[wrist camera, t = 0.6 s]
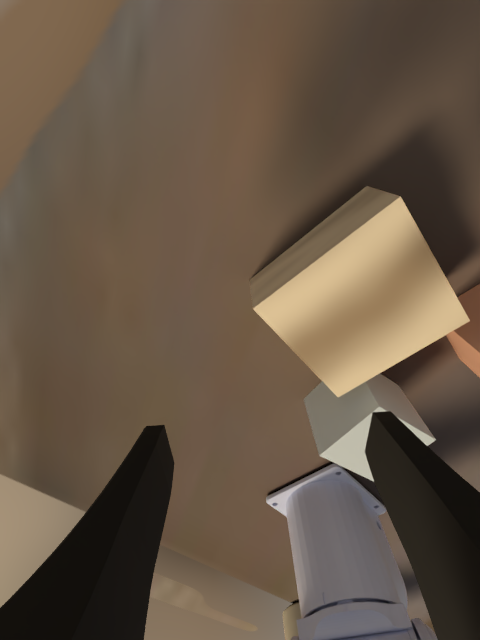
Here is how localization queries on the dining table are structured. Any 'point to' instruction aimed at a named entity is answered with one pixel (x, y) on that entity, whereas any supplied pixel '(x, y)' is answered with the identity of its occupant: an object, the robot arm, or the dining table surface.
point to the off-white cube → (357, 420)
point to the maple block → (358, 292)
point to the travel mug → (291, 620)
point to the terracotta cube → (468, 331)
